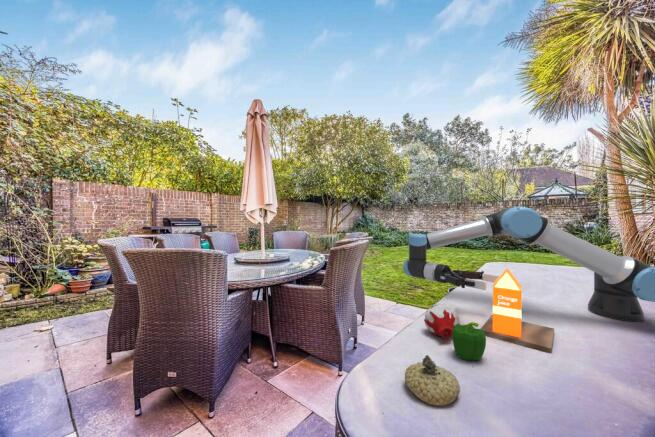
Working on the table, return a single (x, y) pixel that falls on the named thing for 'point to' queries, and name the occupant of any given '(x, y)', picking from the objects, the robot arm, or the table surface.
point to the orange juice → (507, 305)
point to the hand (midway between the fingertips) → (494, 282)
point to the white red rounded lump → (441, 320)
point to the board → (525, 335)
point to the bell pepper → (469, 341)
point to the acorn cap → (432, 383)
